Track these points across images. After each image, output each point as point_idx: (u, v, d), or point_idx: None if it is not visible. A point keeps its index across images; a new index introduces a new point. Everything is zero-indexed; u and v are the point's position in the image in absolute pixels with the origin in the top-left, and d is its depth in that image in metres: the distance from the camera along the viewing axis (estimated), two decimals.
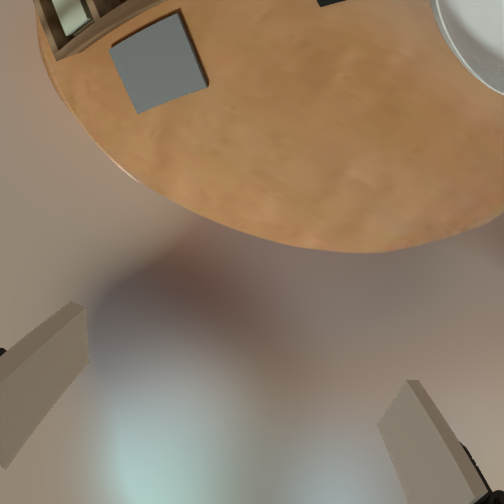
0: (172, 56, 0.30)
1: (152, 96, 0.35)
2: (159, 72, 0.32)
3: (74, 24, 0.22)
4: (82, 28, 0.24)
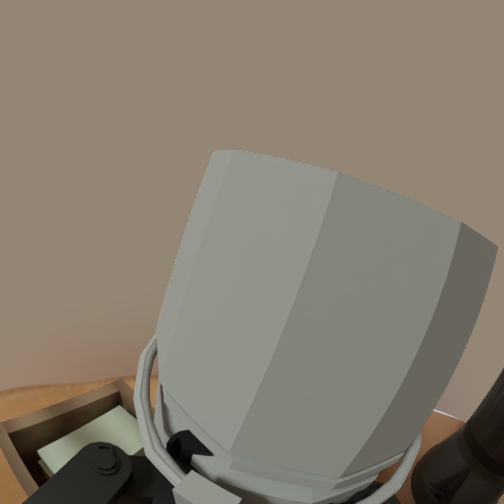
0: None
1: None
2: None
3: (59, 467, 0.12)
4: None
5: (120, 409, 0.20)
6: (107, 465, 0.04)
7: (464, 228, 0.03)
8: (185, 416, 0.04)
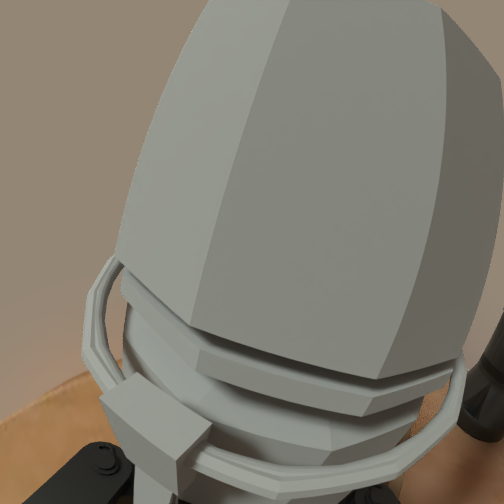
0: None
1: None
2: None
3: None
4: None
5: None
6: (107, 465, 0.04)
7: (447, 15, 0.02)
8: (140, 297, 0.04)
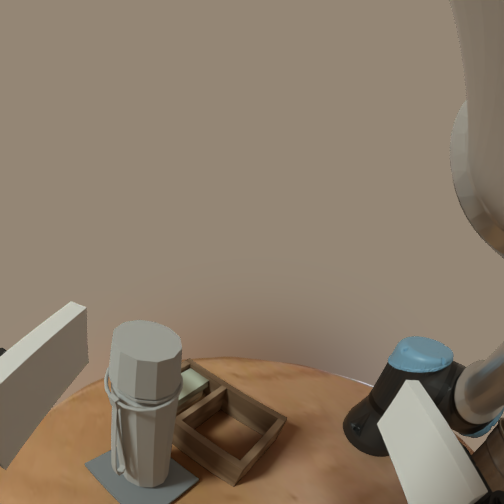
0: (157, 487, 0.27)
1: (108, 476, 0.26)
2: None
3: None
4: None
5: (191, 369, 0.50)
6: None
7: (138, 360, 0.20)
8: (112, 382, 0.22)
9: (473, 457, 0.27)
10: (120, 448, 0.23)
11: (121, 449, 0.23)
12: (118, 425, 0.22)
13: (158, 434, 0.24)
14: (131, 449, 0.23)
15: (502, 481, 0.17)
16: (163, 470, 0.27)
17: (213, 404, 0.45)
